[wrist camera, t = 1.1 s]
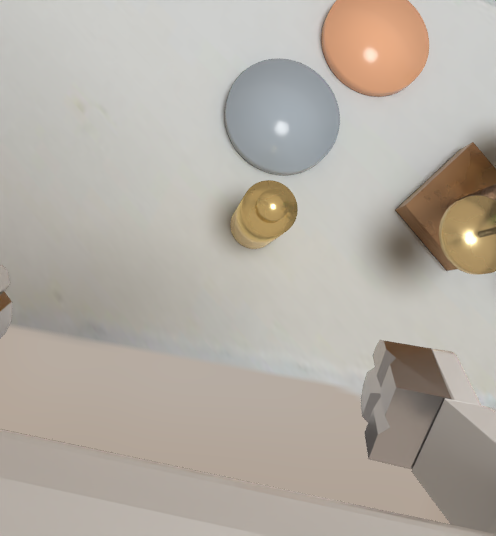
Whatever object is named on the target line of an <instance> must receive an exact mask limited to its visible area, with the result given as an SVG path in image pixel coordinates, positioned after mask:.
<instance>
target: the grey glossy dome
mask: <svg viewBox="0 0 496 536" xmlns="http://www.w3.org/2000/svg"><path fill="white" fill-rule="evenodd" d="M225 125H226V129H227V133H228V136H229V138H230V141H231V143H232V144H233V146H234V148H235V149H236V150H237V152H238V153H239V154H240V155H241V156H242V157H243V158H244V159H245V160H246V161H247V162H248V163H250V164H251V165H253V166H254V167H256V168H258V169H260V170H262V171H264V172H268V173H271V174H276V175H293V174H297V173H301V172H304V171H306V170H308V169H310V168H312V167H313V166H315V165H316V164H317V163H319V162H320V161H321V160H322V159H323V158H324V157H325V156H326V155H327V154H328V152H329V151H330V150H331V148H332V146H333V145H334V143H335V141H336V138H337V135H338V131H339V125H340V114H339V108H338V104H337V100H336V98H335V96H334V93H333V92H332V90H331V88H330V87H329V85H328V84H327V83H326V81H325V80H324V79H323V78H322V77H321V76H320V75H319V74H318V73H316V72H315V71H314V70H312V69H311V68H309V67H308V66H306V65H304V64H302V63H299V62H296V61H292V60H288V59H269V60H264V61H261V62H258V63H256V64H254V65H252V66H250V67H249V68H247V69H246V70H245V71H244V72H242V73H241V74H240V75H239V77H238V78H237V79H236V80H235V82H234V84H233V85H232V87H231V90H230V92H229V95H228V99H227V103H226V107H225Z"/></svg>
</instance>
